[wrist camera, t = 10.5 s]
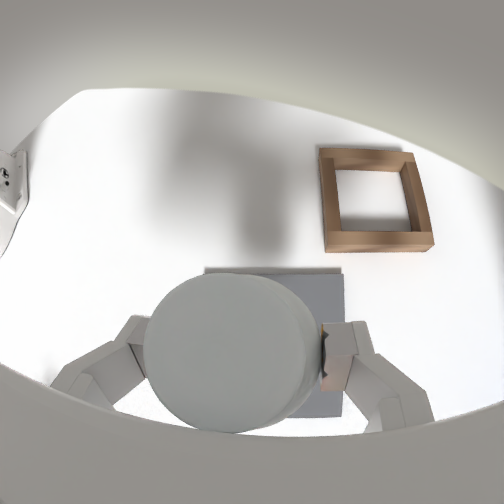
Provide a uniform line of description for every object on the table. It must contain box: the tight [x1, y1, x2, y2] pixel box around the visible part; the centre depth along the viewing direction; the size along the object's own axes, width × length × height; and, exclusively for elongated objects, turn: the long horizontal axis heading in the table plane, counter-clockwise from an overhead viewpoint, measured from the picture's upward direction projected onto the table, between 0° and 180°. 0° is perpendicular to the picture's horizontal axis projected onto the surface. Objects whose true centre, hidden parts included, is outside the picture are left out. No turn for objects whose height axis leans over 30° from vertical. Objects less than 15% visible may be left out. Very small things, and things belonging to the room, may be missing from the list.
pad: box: [203, 274, 345, 418], centre depth 22 cm, size 12×12×1 cm
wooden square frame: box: [318, 148, 435, 253], centre depth 24 cm, size 10×10×2 cm
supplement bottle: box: [143, 273, 322, 434], centre depth 11 cm, size 5×5×10 cm
